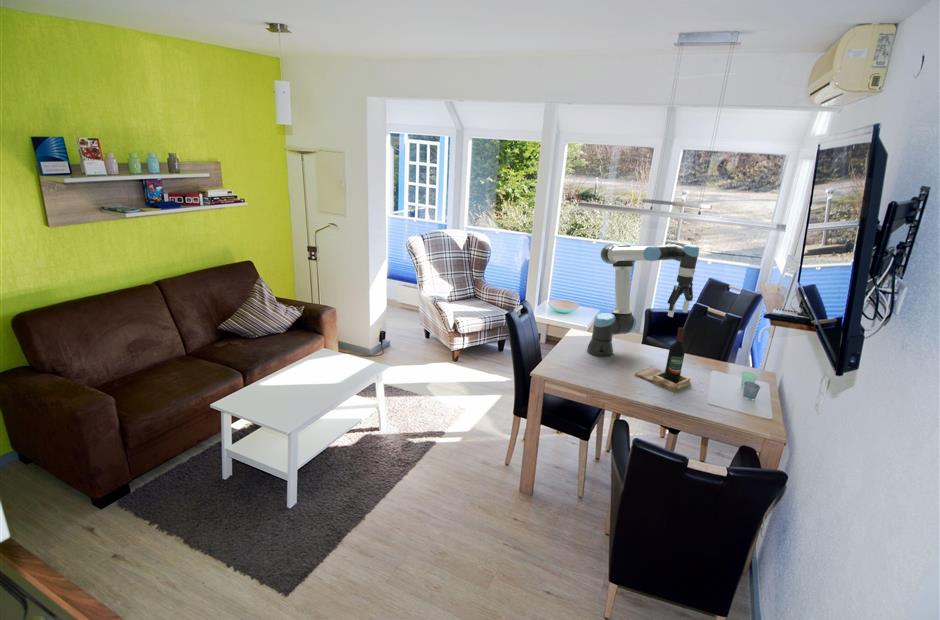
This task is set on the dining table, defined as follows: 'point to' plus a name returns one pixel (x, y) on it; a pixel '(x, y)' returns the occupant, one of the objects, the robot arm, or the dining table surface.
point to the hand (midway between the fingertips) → (677, 314)
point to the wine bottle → (675, 359)
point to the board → (658, 378)
